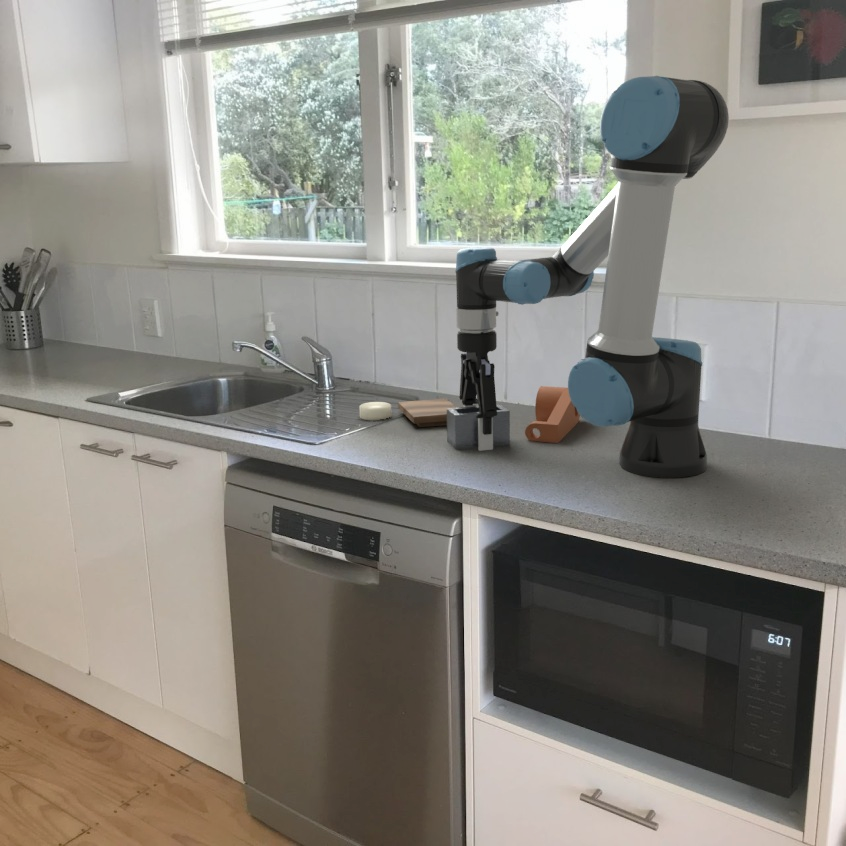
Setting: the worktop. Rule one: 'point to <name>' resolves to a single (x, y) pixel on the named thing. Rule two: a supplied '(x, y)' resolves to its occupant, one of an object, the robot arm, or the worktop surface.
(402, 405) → the stand
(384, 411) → the cream round puck
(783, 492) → the worktop surface
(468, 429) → the housing
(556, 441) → the crank
